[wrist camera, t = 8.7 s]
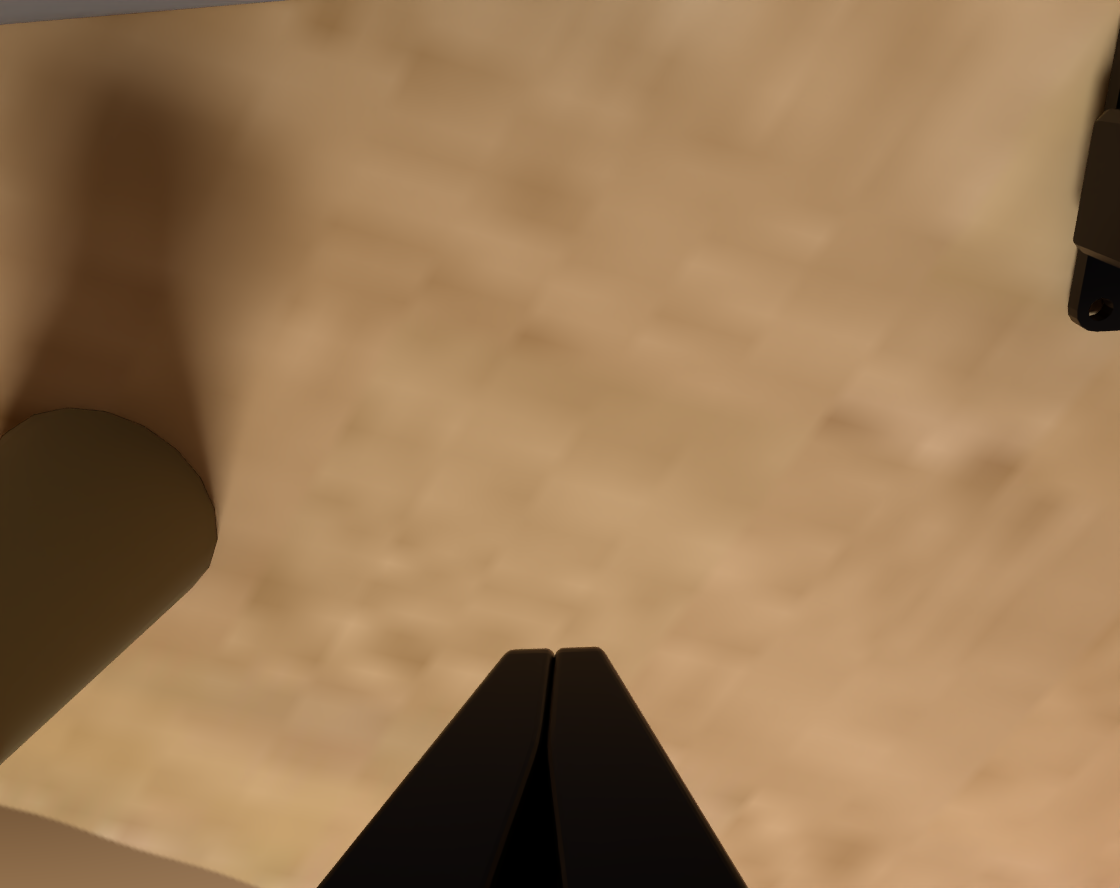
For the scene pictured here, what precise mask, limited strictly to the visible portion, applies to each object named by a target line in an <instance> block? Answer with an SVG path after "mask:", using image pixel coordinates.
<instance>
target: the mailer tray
mask: <svg viewBox="0 0 1120 888" xmlns="http://www.w3.org/2000/svg"><path fill="white" fill-rule="evenodd" d="M271 1H283V0H0V25H1V24H12V23H24V22H36V21H48V20H59V19H71V18H83V17H95V16H107V15H118V14H130V13H142V12H154V11H165V10H177V9H189V8H201V7H212V6H224V5H236V4H248V3H260V2H271Z"/></svg>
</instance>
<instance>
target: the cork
mask: <svg viewBox="0 0 1120 888" xmlns="http://www.w3.org/2000/svg"><path fill="white" fill-rule="evenodd" d="M216 542H217V533H216V523H215V512H214V508H213V505H212V503H211V501H210V499H209V496H208V494H207V492H206V490H205V488H204V485H203V483H202V481H201V479H200V477H199V476H198V475H197V474H196V472H195V471H194V470H193V469H192V468H191V466H190V465H189V464H188V463H187V462H186V461H185V459H184V458H183V457H182V456H181V455H180V454H179V452H178V451H177V450H176V449H175V448H174V447H172V446H171V445H169V444H168V443H166V442H165V441H164V440H162V439H161V438H159V437H158V436H157V435H155V434H154V433H152V432H151V431H149V430H148V429H147V428H145V427H144V426H142V425H139V424H137V423H134V422H131V421H129V420H126V419H123V418H121V417H118V416H116V415H113V414H110V413H108V412H104V411H94V410H84V409H74V408H65V409H60V410H55V411H50V412H45V413H41V414H36V415H33V416H31V417H30V418H28V419H27V420H25V421H24V422H22V423H21V424H19V425H17V426H16V427H14V428H13V429H11V430H10V431H8V432H7V433H6V434H5V435H4V436H3V437H2V438H1V439H0V765H1V764H2V763H3V762H4V761H5V760H6V759H7V758H8V757H9V756H10V755H12V754H13V753H14V752H15V751H16V750H17V749H18V748H19V747H20V746H21V745H22V744H23V743H25V742H26V741H27V740H28V739H29V738H30V737H31V736H32V735H33V734H34V733H35V732H36V731H38V730H39V729H40V728H41V727H42V726H43V725H44V724H45V723H46V722H47V721H48V720H49V719H51V718H52V717H53V716H54V715H55V714H56V713H57V712H58V711H59V710H60V709H61V708H62V707H64V706H65V705H66V704H67V703H68V702H69V701H70V700H71V699H72V698H73V697H74V696H75V695H76V694H78V693H79V692H80V691H81V690H82V689H83V688H84V687H85V686H86V685H87V684H88V683H89V682H91V681H92V680H93V679H94V678H95V677H96V676H97V675H98V674H99V673H100V672H101V671H102V670H104V669H105V668H106V667H107V666H108V665H109V664H110V663H111V662H112V661H113V660H114V659H115V658H117V657H118V656H119V655H120V654H121V653H122V652H123V651H124V650H125V649H126V648H127V647H128V646H130V645H131V644H132V643H133V642H134V641H135V640H136V639H137V638H138V637H139V636H140V635H141V634H143V633H144V632H145V631H146V630H147V629H148V628H149V627H150V626H151V625H152V624H153V623H154V622H156V621H157V620H158V619H159V618H160V617H161V616H162V615H163V614H164V613H165V612H166V611H167V610H169V609H170V608H171V607H172V606H173V605H174V604H175V603H176V602H177V601H178V600H179V599H180V598H182V597H183V596H184V595H185V594H186V593H187V592H188V591H189V590H190V589H191V588H192V587H193V586H194V585H195V583H196V582H197V581H198V580H199V579H200V577H201V576H202V575H203V574H204V573H205V572H206V570H207V569H208V568H209V566H210V562H211V559H212V556H213V552H214V549H215V546H216Z"/></svg>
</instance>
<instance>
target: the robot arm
mask: <svg viewBox="0 0 1120 888" xmlns="http://www.w3.org/2000/svg"><path fill="white" fill-rule="evenodd" d="M1073 241H1074V243H1075V245H1076V246H1077V247H1078V248H1079V249H1078V254H1077V260H1076V265H1075V271H1074V276H1073V281H1072V287H1071V292H1070V297H1069V303H1068V315H1069V317H1070V318H1071V320H1072V321H1073V322H1074V323H1076V324H1078V325H1079V326H1081V327H1083V328H1084V329H1086V330H1088V331H1095V332H1099V331H1117V330H1120V30H1119V34H1118V39H1117V45H1116V50H1115V55H1114V61H1113V66H1112V71H1111V77H1110V82H1109V88H1108V93H1107V98H1106V104H1105V109H1104V113H1103V114H1102V115H1101V116H1100V117H1099V118H1098V120H1097V121H1096V122H1095V124H1094V128H1093V133H1092V139H1091V144H1090V149H1089V155H1088V160H1087V166H1086V171H1085V177H1084V182H1083V188H1082V193H1081V199H1080V204H1079V210H1078V215H1077V221H1076V226H1075V232H1074V237H1073ZM1101 298H1103V306H1102V308H1101V310H1100V311H1098V312H1097V313H1096V314H1094V315H1090V316H1089V308H1090V306H1091V304H1092V303H1094V302H1095V301H1096V300H1098V299H1101ZM317 888H748V887H747V885H746V884H745V882H744V880H743V879H742V877H741V875H740V874H739V872H738V870H737V869H736V867H735V866H734V864H733V862H732V861H731V859H730V857H729V856H728V854H727V852H726V851H725V849H724V847H723V846H722V844H721V843H720V841H719V839H718V838H717V836H716V834H715V833H714V831H713V829H712V828H711V826H710V824H709V823H708V821H707V820H706V818H705V816H704V815H703V813H702V811H701V810H700V808H699V806H698V805H697V803H696V801H695V800H694V798H693V797H692V795H691V793H690V792H689V790H688V788H687V787H686V785H685V783H684V782H683V780H682V778H681V777H680V775H679V774H678V772H677V770H676V769H675V767H674V765H673V764H672V762H671V760H670V759H669V757H668V755H667V754H666V752H665V751H664V749H663V747H662V746H661V744H660V742H659V741H658V739H657V737H656V736H655V734H654V732H653V731H652V729H651V728H650V726H649V724H648V723H647V721H646V719H645V718H644V716H643V714H642V713H641V711H640V709H639V708H638V706H637V705H636V703H635V701H634V700H633V698H632V696H631V695H630V693H629V691H628V690H627V688H626V686H625V685H624V683H623V682H622V680H621V678H620V677H619V675H618V673H617V672H616V670H615V668H614V667H613V665H612V663H611V662H610V660H609V659H608V657H607V655H606V654H605V652H604V651H603V650H602V649H600V648H599V647H575V648H561V649H559V650H558V651H557V652H556V654H555V655H554V653H553V652H552V651H551V650H550V649H546V648H545V649H515V650H510V651H508V652H507V653H505V654H504V656H503V657H502V658H501V659H500V661H499V662H498V663H497V664H496V665H495V667H494V668H493V669H492V670H491V672H490V673H489V674H488V675H487V677H486V678H485V679H484V680H483V682H482V683H481V684H480V685H479V687H478V688H477V689H476V690H475V692H474V693H473V694H472V695H471V697H470V698H469V699H468V700H467V702H466V703H465V704H464V705H463V707H462V708H461V709H460V710H459V712H458V713H457V714H456V715H455V716H454V718H453V719H452V720H451V721H450V723H449V724H448V725H447V726H446V728H445V729H444V730H443V731H442V733H441V734H440V735H439V736H438V738H437V739H436V740H435V741H434V743H433V744H432V745H431V746H430V748H429V749H428V750H427V751H426V753H425V754H424V755H423V756H422V758H421V759H420V760H419V761H418V763H417V764H416V765H415V766H414V767H413V769H412V770H411V771H410V772H409V774H408V775H407V776H406V777H405V779H404V780H403V781H402V782H401V784H400V785H399V786H398V787H397V789H396V790H395V791H394V792H393V794H392V795H391V796H390V797H389V799H388V800H387V801H386V802H385V804H384V805H383V806H382V807H381V809H380V810H379V811H378V812H377V814H376V815H375V816H374V817H373V819H372V820H371V821H370V822H369V823H368V825H367V826H366V827H365V828H364V830H363V831H362V832H361V833H360V835H359V836H358V837H357V838H356V840H355V841H354V842H353V843H352V845H351V846H350V847H349V848H348V850H347V851H346V852H345V853H344V855H343V856H342V857H341V858H340V860H339V861H338V862H337V863H336V865H335V866H334V867H333V868H332V870H331V871H330V872H329V873H328V874H327V876H326V877H325V878H324V879H323V881H322V882H321V883H320V884H319V886H318V887H317Z"/></svg>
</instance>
